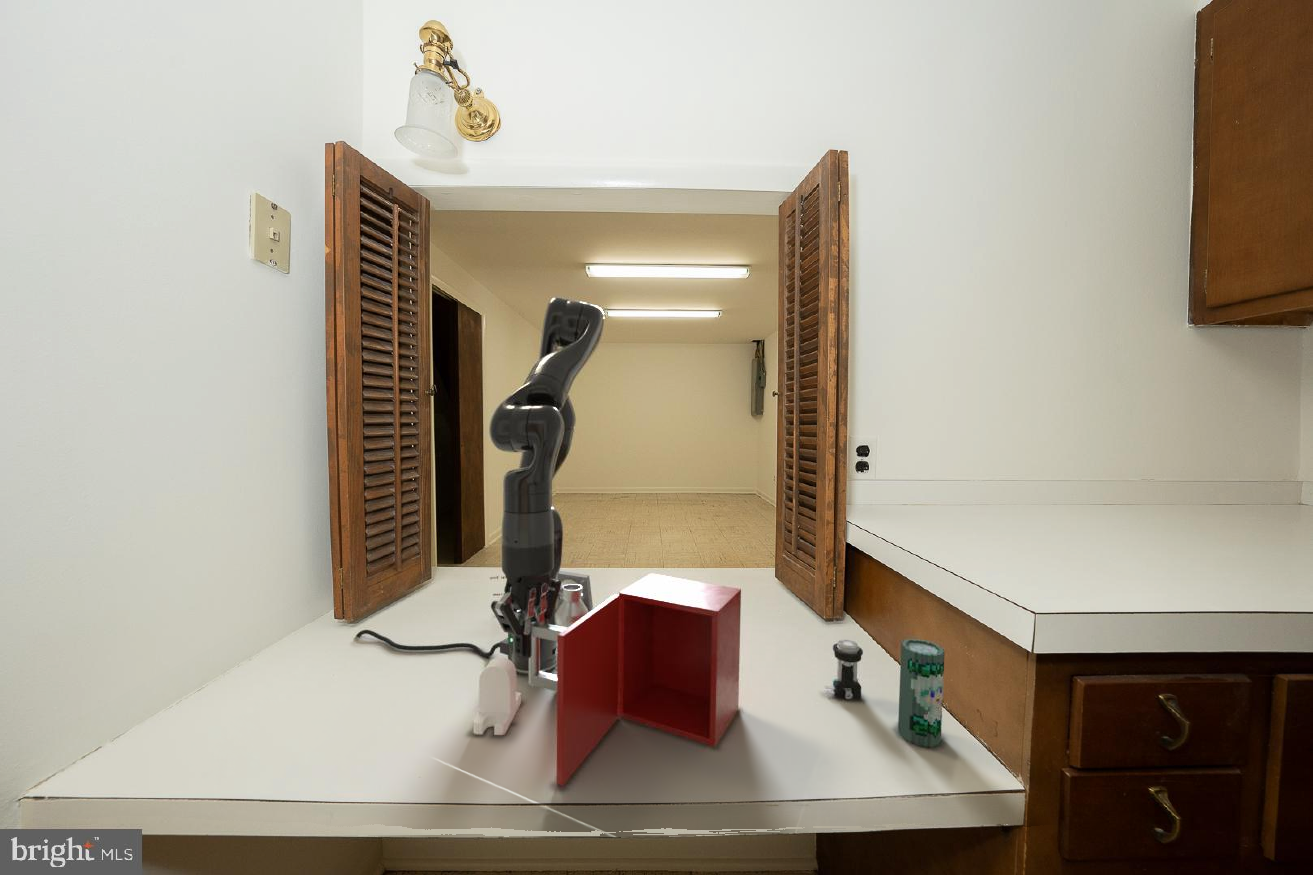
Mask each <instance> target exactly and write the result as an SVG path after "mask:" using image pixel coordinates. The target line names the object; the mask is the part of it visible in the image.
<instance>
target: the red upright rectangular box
mask: <svg viewBox="0 0 1313 875" xmlns="http://www.w3.org/2000/svg"><path fill="white" fill-rule="evenodd" d="M618 595H619V673H618V717H619V718H623V719H626V720H630V721H632V722H636V723H639V724H642V725H646V726H648V727H651V728H654V729H658V730H661V731H665V732H667V733H670V734H674V735H676V736H681V737H684V738H687V739H689V740H692V741H696V742H700V743H703V744H705V745H708V746H712V747H716V746H717V744H718V743H719V741H720V739H721V738H722V737H723V735H724V733H725V731H726V730H727V728H728V727H729V726H730V723H731V722H732V720H733V719H734V718H735V715H736V714H737V712H738V711H739V700H740V699H739V694H740V658H741V657H740V655H741V654H740V653H741V651H740V650H741V610H742V608H741V606H742V589H741V588H737V587H732V586H725V585H719V584H714V583H707V582H701V581H696V580H690V579H685V578H678V577H672V576H666V575H661V574H655V573H649V574H648V575H647V576H645V577H643V578H642V579H640V580H637V581H636V582H634V583H633V584H631V585H630V586H628V587H626V588H624V589H623V590H621V591H619V592H618Z"/></svg>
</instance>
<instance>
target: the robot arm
mask: <svg viewBox="0 0 1313 875" xmlns="http://www.w3.org/2000/svg"><path fill="white" fill-rule="evenodd" d="M604 314H605V313H604V311H603V309H602V308H601V307H599V306H598V305H595V304H592V303H588V302H583V301H580V300H575V299H570V298H565V297H561V296H554V297H552V298H551V299H550V300H549V302H548V303H547V306H546V310H545V313H544V318H543V324H542V331H541V339H540V348H539V358H538V361H537V362H536V363H534V365H533V367H532V368H531V370H530V371H529V373H528V375H527V377H526V379H525V381H524V383H523V385H521V386H520V387H518V388H517V389H516V390H514V392H512V393H511V394H510V395H509V396H508V397H506V398H505V399H504V400H503V401H501V403H500V404H499V405H497V407H496V409H495V410H494V412H493V414H492V415H491V418H490V422H489V425H488V426H489V427H488V428H489V429H488V432H489V438H490V440H491V443H492V444H493V445H494V446H495V447H496V448H497V449H498V450H500V451H502V452H504V453H505V452H506V453H521V456H520V460H519V465H518V466H519V467H518V468H515V469H511V470H509V471H507V472H506V473H505V474H504V476H503V482H502V502H503V505H502V507H503V512H502V521H501V571H502V574H504V577H505V579H506V582H505V586H504V589H503V591H504V593H505V594H504V593H503V595H502V597H501V598H500V599H499V600H493V601H492V602H491V604H490V609H491V611H492V613H493V614H494V616H495V618H496V620H497V622H498V623H499V625H500V627H501V629H502V630H503V632H504V633H507V637H506V638H505V639H503V640H500V641H499V642H497V643H495V644H493V645H492V646H491V647H490V650H489V651H488V652H485V651H483V650H482V649H481V648H480V647H478V646H477V645H475V644H473V643H469V642H455V643H447V644H438V645H405V644H400V643H396V642H395V641H393V640H392V639H390V638H388V637H386V636H384V635H382V634H379V633H378V632H376V631H373V630H371V629H362V630H360V631H359V632H357V634H356V635H355V637H357V638H360V637H362V636H363V635H369V636H372V637H373V638H376V639H377V640H379V641H382V642H384V643H386V644H388V645H389V646H390V647H392V648H393V649H397V650H402V651H418V652H419V651H441V650H449V649H457V648H458V649H459V648H465V649H472V650H474V651H475V652H476V653H477V654H478V655H480V656H481V657H483V658H490V657H492V656H493V655H494V653H495V651H496V650H497V649H498V648H499V653H500V654H503V655H507V659H509V660H510V661H512V663H513V664H514V666H515V668H516V674H517V673H518V674H520V675H521V674H522V675H528V676H529V658H530V657H531V634H530V628H531V622H540V623H545V624H550V625H555V620H554V614H555V611H556V609H557V597H558V594H559V591H560V587H561V581H558V580H557V577H558V573H559V571H561V568H562V560H563V546H564V545H563V542H564V526H563V521H562V518H561V515H560V513H559V512H558V510H557V509H556V508H555V507H553V480H554V479H555V477H556V475H557V474H558V473H559V471H560V469H561V468H562V466H563V464H564V463H565V461H566V459H567V457H568V455H569V453H570V450H571V446H572V442H573V438H574V433H575V427H576V422H577V418H576V411H575V409H574V406H573V403H572V400H571V398H570V395H569V393H570V391H571V388H572V386H573V384H574V382H575V380H576V378H577V377H578V375H579V374H580V373H581V372H582V370H583V369H584V367H585V366H586V365H587V363H588V362H589V360H590V359H591V358H592V356H593V355H594V353H596V351H597V349H598V347H599V345H600V342H601V340H602V336H603V333H604V326H605V325H604V324H605V315H604ZM556 663H557V641H553V640H548V639H543V638H540V671H542V672H546V673H548V672H549V671H551V670H553V669H555V668H556Z"/></svg>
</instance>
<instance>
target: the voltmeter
mask: <svg viewBox="0 0 1313 875" xmlns="http://www.w3.org/2000/svg"><path fill="white" fill-rule="evenodd" d="M489 579H490V580H493V579H494V580H496V579H497V580H498V579H499V576H498V575H496V576H491V577H489ZM502 579H503V580H504V579H505V576H502ZM557 580H558V581H561V587H560V591H559V594H558V597H557V607H558V606H559V604H560V603H561V602H562V600H563V598H562V588H563V586H565V585H569V584H577V585H580V586H582V598H581V600H582V602H583V603H584V604H585V606H586V608H587V609H588V612H590V611H592V610H593V609H594V608H593V607H594V605H593V596H592V588H591V587H592V586H591V578H590V575H589V574H584V573H577V572H572V571H571V572H570V571H563V570H560V571H559V573H558V577H557ZM504 594H505V592H504V593H503V595H504ZM492 596H494V597H495V596H497V597H498V596H501V593H492Z"/></svg>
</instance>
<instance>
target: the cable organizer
mask: <svg viewBox="0 0 1313 875" xmlns="http://www.w3.org/2000/svg"><path fill="white" fill-rule="evenodd" d="M478 679H479V680H478V709H479V710H478V713H477V715H476V716H475V718H474V720H473V734H474V735H483V734H484V732H485V731H486V729H487V728H489V727H494V728H493V732H494V733H493V735H494V736H503V735H505V734H506V733H507V731H508V729H509V727H510V725H511V723H512V721H513V720H514V718H515V716H516V714H517V713H518V710H519V708H520V706H521V704H522V693H521V692H520V691H517V672H516V668H515V666H514V664H513V663H512V661H510V660H509V659H508V657H504V656H499V657H495V658H492V659H491V660H490V661H489V662H488V664H487V665H486V667H485V668H484V669H483V671H481V673H480V675H479V678H478Z"/></svg>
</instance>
